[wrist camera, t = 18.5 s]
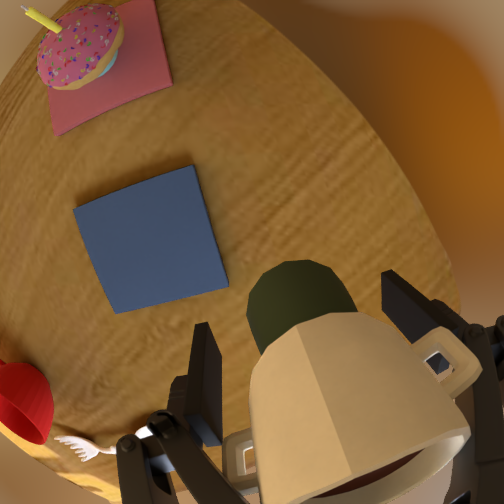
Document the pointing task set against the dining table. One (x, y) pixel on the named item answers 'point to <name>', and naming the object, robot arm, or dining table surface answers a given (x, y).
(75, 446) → the spoon
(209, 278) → the blue mat
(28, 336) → the dining table surface
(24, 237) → the dining table surface
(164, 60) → the rose mat
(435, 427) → the character mug
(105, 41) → the cupcake
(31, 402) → the ceramic cup
